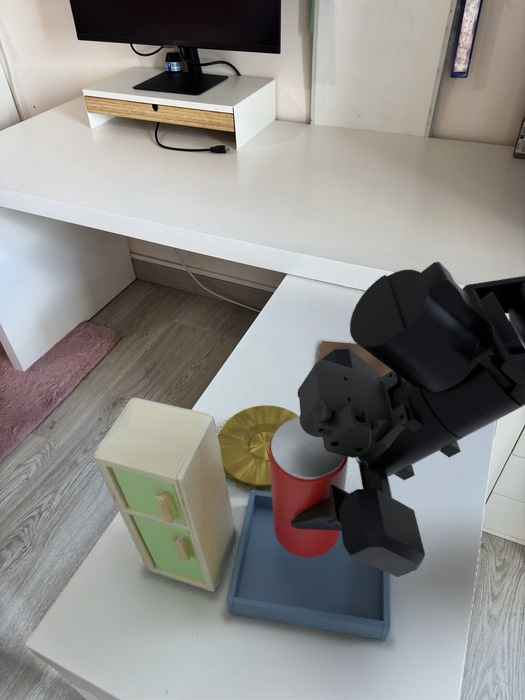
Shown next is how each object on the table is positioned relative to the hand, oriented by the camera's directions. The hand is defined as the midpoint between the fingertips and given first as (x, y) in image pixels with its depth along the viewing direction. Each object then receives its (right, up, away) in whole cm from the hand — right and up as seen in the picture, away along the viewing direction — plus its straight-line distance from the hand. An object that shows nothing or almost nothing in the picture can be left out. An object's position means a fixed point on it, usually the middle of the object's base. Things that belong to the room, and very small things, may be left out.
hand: (292, 489), depth 45 cm
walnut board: (+13, +8, +28) cm, 32 cm away
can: (+2, -5, +4) cm, 7 cm away
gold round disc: (-2, -1, +19) cm, 19 cm away
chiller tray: (+3, -10, +8) cm, 14 cm away
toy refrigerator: (-10, -10, +10) cm, 18 cm away
